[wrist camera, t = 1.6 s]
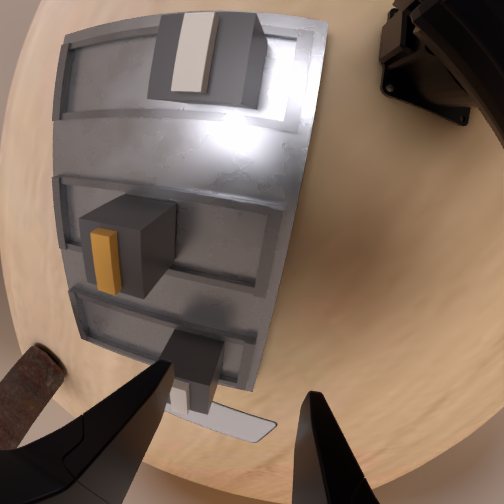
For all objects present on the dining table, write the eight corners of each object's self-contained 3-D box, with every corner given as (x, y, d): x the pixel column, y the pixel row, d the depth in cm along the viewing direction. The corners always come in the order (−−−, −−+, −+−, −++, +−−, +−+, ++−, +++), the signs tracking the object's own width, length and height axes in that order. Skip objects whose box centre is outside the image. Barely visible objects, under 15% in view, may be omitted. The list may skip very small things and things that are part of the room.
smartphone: (156, 378, 28) (279, 424, 29) (158, 374, 28) (279, 420, 29) (149, 403, 31) (255, 443, 32) (150, 400, 32) (256, 440, 32)
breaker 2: (224, 340, 21) (207, 394, 16) (221, 372, 23) (205, 422, 18) (175, 328, 21) (148, 376, 16) (176, 361, 23) (155, 407, 18)
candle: (37, 333, 30) (-39, 427, 12) (73, 369, 32) (6, 470, 14) (31, 350, 33) (-32, 431, 15) (62, 381, 35) (6, 467, 17)
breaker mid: (176, 203, 17) (133, 236, 12) (174, 261, 18) (138, 307, 14) (121, 195, 17) (70, 222, 12) (123, 249, 19) (80, 288, 14)
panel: (325, 32, 13) (330, 17, 10) (255, 375, 25) (251, 398, 23) (81, 38, 14) (58, 33, 11) (92, 327, 26) (78, 343, 24)
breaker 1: (267, 42, 12) (253, 6, 7) (256, 109, 14) (237, 102, 9) (196, 38, 12) (154, 10, 7) (185, 103, 14) (138, 98, 9)
